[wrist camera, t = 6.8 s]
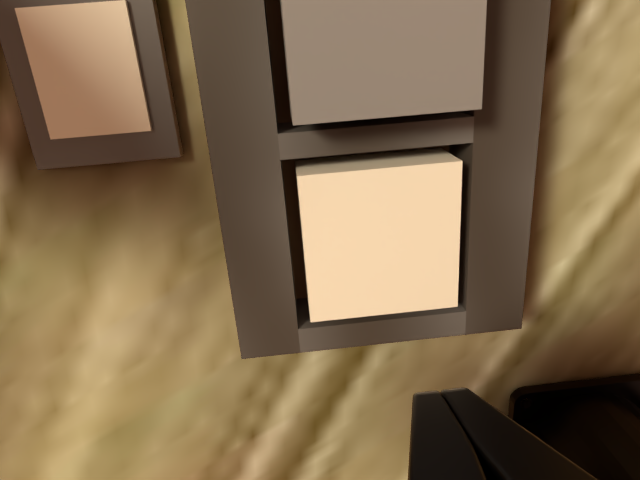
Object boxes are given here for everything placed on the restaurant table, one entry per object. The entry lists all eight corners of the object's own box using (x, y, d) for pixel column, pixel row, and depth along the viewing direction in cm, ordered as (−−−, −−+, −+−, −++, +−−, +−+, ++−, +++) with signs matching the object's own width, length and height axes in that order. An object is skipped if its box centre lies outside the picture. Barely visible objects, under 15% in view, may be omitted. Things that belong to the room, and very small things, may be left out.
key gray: (459, -92, 12) (492, -118, 10) (453, 100, 14) (482, 109, 12) (272, -79, 12) (271, -104, 10) (290, 114, 13) (292, 125, 11)
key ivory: (439, 146, 15) (462, 160, 13) (437, 278, 17) (457, 306, 15) (294, 160, 15) (297, 176, 13) (306, 291, 17) (310, 322, 15)
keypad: (524, -430, 12) (603, -580, 9) (484, 286, 19) (521, 328, 16) (140, -417, 11) (95, -571, 8) (247, 311, 18) (241, 358, 15)
